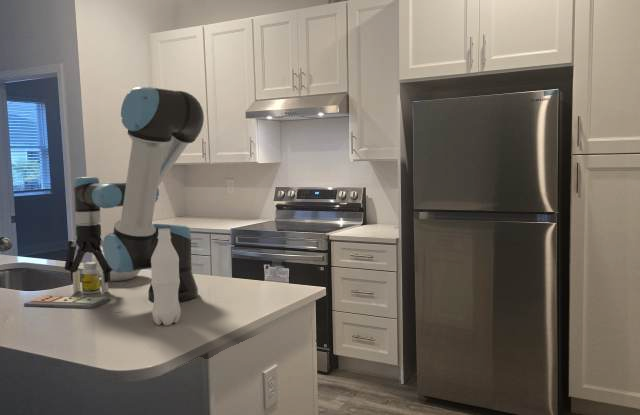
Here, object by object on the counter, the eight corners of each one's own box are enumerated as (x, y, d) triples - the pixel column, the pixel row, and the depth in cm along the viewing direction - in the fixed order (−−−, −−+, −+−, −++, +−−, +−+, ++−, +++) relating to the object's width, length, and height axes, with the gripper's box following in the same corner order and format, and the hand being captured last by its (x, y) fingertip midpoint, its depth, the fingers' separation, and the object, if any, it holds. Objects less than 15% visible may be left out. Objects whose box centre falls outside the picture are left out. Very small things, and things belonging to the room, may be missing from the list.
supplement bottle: (78, 293, 176) (77, 263, 175) (91, 289, 181) (90, 261, 180) (91, 294, 174) (90, 264, 173) (103, 291, 179) (102, 262, 178)
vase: (155, 277, 200) (153, 226, 199) (108, 286, 186) (106, 231, 185) (129, 271, 212) (128, 223, 211) (84, 278, 198) (81, 227, 197)
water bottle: (165, 328, 137) (163, 231, 135) (146, 324, 141) (143, 229, 139) (186, 321, 143) (184, 228, 141) (167, 317, 147) (165, 226, 145)
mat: (110, 299, 167) (110, 295, 166) (92, 308, 157) (92, 304, 157) (45, 297, 170) (45, 293, 170) (24, 306, 160) (23, 301, 160)
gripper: (125, 223, 178) (127, 289, 179) (64, 222, 181) (67, 287, 183) (113, 225, 170) (116, 295, 172) (50, 225, 173) (53, 293, 175)
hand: (91, 291), depth 177 cm, fingers open, 9 cm apart
